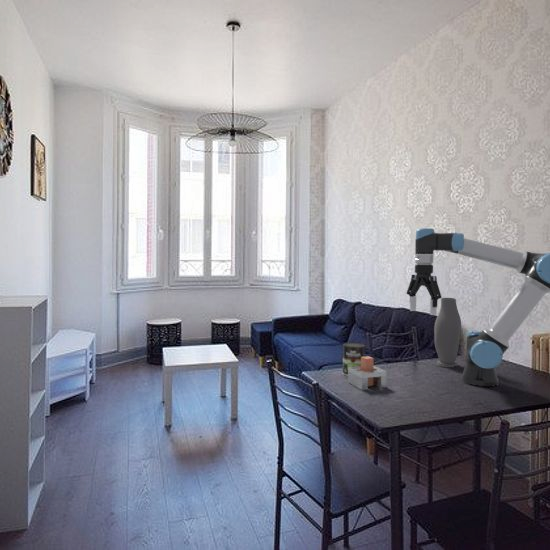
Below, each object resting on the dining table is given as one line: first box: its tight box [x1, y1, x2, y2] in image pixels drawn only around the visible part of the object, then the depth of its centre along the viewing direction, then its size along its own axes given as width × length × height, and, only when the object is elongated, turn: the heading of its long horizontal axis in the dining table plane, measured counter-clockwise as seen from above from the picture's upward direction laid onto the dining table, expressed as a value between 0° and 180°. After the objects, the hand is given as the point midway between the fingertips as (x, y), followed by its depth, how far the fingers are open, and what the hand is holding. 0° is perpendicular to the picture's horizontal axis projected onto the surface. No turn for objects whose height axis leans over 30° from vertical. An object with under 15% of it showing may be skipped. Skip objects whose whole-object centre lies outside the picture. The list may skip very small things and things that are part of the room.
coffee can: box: [342, 342, 366, 377], centre depth 210 cm, size 10×10×14 cm
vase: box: [433, 297, 462, 368], centre depth 227 cm, size 13×13×35 cm
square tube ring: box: [347, 365, 388, 391], centre depth 193 cm, size 12×12×7 cm
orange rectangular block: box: [361, 355, 375, 387], centre depth 193 cm, size 4×4×12 cm
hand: (422, 312), depth 192 cm, fingers open, 13 cm apart
